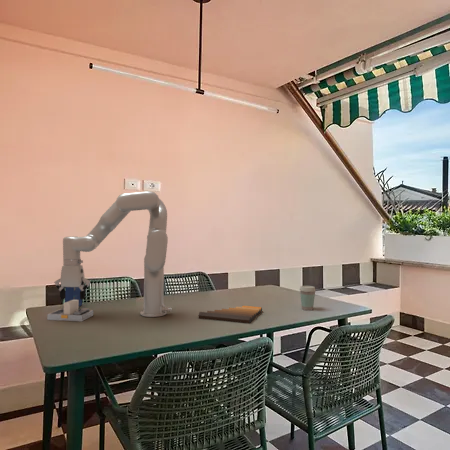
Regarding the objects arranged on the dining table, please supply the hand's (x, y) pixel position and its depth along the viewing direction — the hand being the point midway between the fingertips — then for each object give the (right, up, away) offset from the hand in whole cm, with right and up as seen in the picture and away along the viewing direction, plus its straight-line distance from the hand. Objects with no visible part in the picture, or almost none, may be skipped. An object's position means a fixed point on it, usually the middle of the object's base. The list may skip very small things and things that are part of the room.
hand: (72, 299), depth 179 cm
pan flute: (+75, -11, +9) cm, 76 cm away
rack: (-1, -9, 0) cm, 9 cm away
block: (-1, -8, 0) cm, 8 cm away
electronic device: (-8, -9, +22) cm, 25 cm away
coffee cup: (+116, -10, +24) cm, 119 cm away
